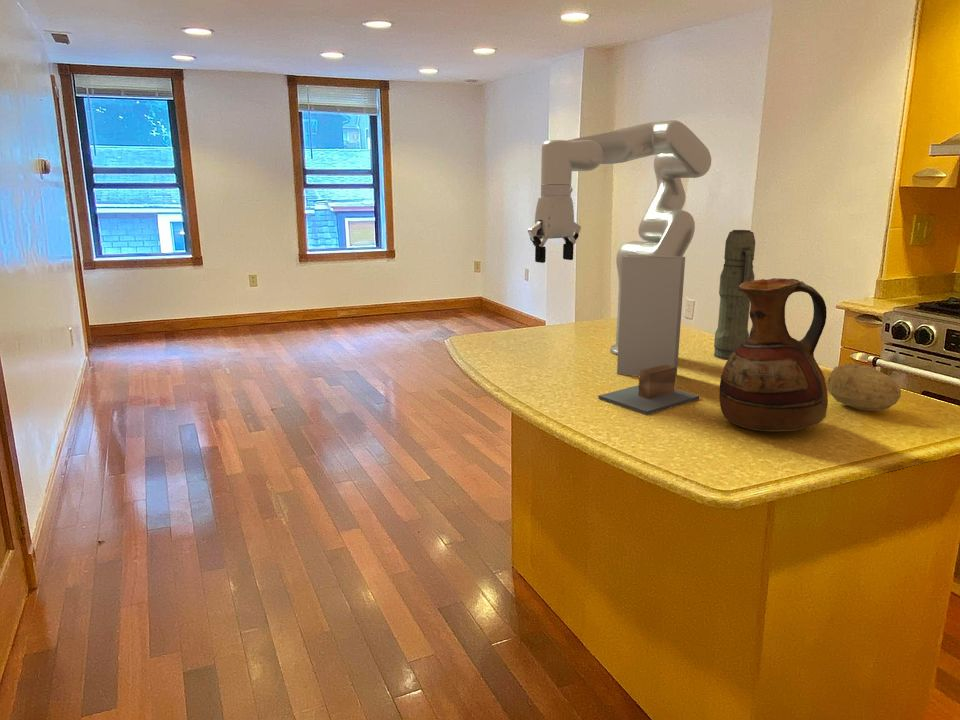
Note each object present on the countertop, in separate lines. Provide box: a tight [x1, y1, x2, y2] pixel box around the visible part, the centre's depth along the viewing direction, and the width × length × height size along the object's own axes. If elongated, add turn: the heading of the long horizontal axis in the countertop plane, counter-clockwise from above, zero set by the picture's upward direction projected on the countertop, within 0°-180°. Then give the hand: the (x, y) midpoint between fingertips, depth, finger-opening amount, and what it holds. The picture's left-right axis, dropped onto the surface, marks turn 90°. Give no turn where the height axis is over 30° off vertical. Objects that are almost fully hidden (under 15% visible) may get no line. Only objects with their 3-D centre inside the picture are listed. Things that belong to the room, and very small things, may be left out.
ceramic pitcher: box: [718, 277, 829, 432], centre depth 137 cm, size 20×20×30 cm
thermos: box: [713, 229, 756, 361], centre depth 190 cm, size 9×12×35 cm
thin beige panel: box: [616, 254, 686, 377], centre depth 173 cm, size 14×6×30 cm, turn 65°
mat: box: [598, 384, 700, 416], centre depth 157 cm, size 18×14×1 cm
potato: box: [826, 363, 902, 412], centre depth 149 cm, size 10×14×10 cm
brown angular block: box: [638, 364, 677, 399], centre depth 157 cm, size 3×9×6 cm, turn 127°
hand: (554, 260), depth 177 cm, fingers open, 9 cm apart
